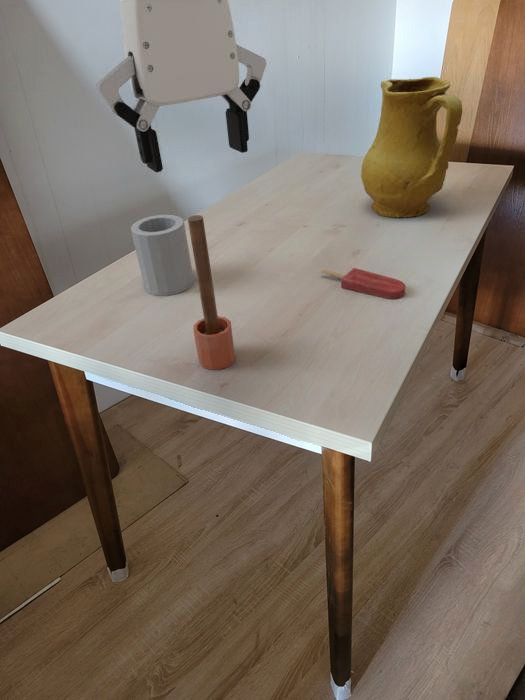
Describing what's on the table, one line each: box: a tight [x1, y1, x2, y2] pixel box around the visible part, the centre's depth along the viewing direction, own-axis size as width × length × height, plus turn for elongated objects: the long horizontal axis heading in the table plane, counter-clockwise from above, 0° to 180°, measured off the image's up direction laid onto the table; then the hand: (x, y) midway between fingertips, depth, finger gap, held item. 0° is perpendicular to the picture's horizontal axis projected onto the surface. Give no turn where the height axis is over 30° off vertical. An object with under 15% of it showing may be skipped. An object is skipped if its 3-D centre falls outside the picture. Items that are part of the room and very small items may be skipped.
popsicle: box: [320, 267, 406, 300], centre depth 86 cm, size 4×2×15 cm
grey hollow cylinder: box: [130, 214, 194, 297], centre depth 89 cm, size 9×9×11 cm
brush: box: [187, 214, 223, 335], centre depth 66 cm, size 3×3×20 cm
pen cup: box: [192, 315, 236, 371], centre depth 71 cm, size 5×5×6 cm
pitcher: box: [360, 76, 463, 219], centre depth 105 cm, size 17×19×25 cm
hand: (198, 159), depth 55 cm, fingers open, 9 cm apart
